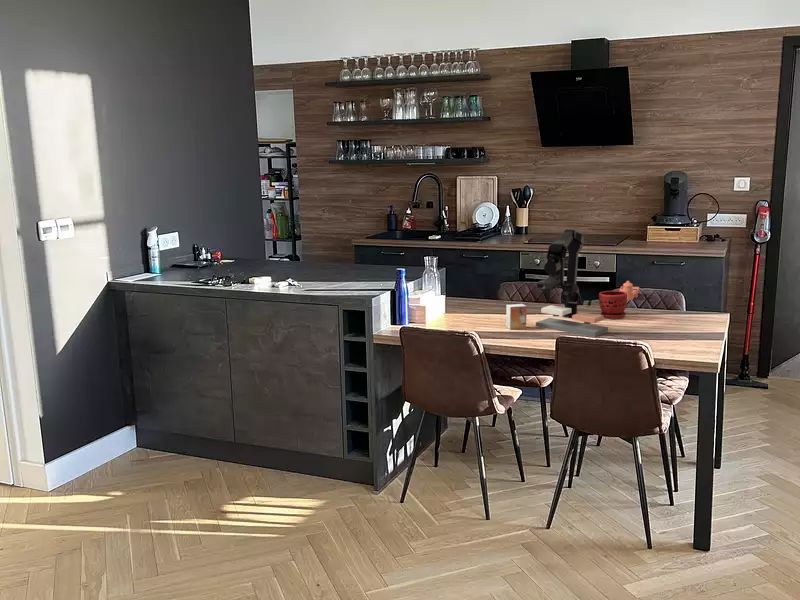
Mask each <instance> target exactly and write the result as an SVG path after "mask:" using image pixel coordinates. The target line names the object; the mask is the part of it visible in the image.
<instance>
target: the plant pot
mask: <svg viewBox="0 0 800 600" xmlns="http://www.w3.org/2000/svg"><path fill="white" fill-rule="evenodd" d="M627 303H628V300H627V293H626V292H622V291H619V290H606V291H600V292H599V293H598V305H599V307H600V308H599V309H600V311H601V312H600V315H603V319H604V318H605V319H608V320H609V319H610V320H611V319H613V320H619V319H623V318H624V317H625V316H626V315H627V314H626V312H625V310H626V308H627Z"/></svg>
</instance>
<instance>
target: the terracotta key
mask: <svg viewBox="0 0 800 600" xmlns="http://www.w3.org/2000/svg"><path fill="white" fill-rule="evenodd" d="M571 320H572V321H576V322H582V323H585V324H596V323H599V322H602V321H604V317H603V315H601V314H594V313H588V312H582V311H581V312H579V313H578V312H577V314H575V315H572V318H571Z"/></svg>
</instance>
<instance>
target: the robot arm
mask: <svg viewBox="0 0 800 600" xmlns="http://www.w3.org/2000/svg"><path fill="white" fill-rule="evenodd" d="M584 244H585V238H584V235H583V234H581V233H580V232H578V231H577V230H576V229H568V228H567V229H565V230H564V232H563V234H562V235H561V236H560V237H559V239H557V240H556V241H552V242H551V243H550V245H549V246H548V249H547V253H546V258H545V259H546V260H548V261H547V262H545V264H544V267H543V269H544V273H546V274H548V277H547V278H546V279H545V280H544V279H542V280H539V281H537V282H536V285H535V287H536V288H537V289H538V290H540V291H541V292H542V293H543V296H544V299H545V302H546V304H549V303H550V298H551V291H552V290H554V289H561V293H560V303H561V305H564V307H565V308H572V309H571V313H569V314H566V315H563V316H562V317H563V318H571V319H572V315H575V314H578V306H582V302H583V301H582V298H581V294H580V289H579V285H578V284H577V276H578V267H579V266H578V263H579V253H580V252H581V251H582V249H583V247H584ZM567 255H568V257H567ZM566 257H567V270H566V272H565V270H564V269H565V259H566ZM564 276H566V280H565V281H564Z"/></svg>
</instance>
